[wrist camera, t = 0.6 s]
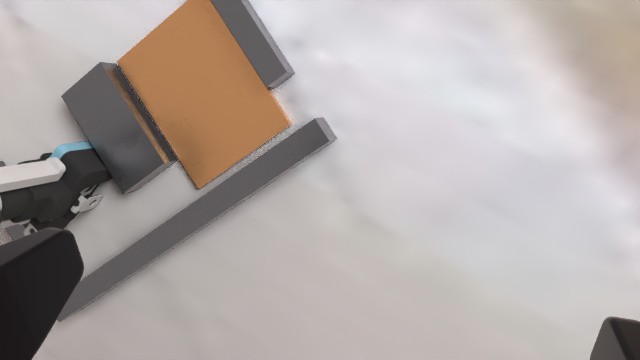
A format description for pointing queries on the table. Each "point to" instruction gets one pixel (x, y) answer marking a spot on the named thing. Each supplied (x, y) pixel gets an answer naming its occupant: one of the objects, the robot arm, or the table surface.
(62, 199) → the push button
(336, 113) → the table surface
